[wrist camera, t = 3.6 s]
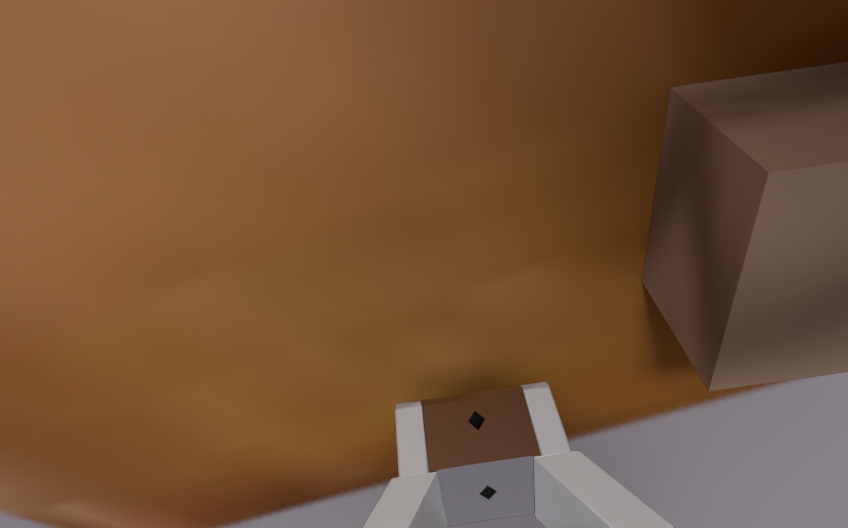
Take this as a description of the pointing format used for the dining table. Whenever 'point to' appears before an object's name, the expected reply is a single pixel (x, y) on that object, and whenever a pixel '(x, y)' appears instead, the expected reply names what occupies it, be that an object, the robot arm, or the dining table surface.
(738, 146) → the walnut block
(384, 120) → the dining table surface
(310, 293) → the dining table surface
